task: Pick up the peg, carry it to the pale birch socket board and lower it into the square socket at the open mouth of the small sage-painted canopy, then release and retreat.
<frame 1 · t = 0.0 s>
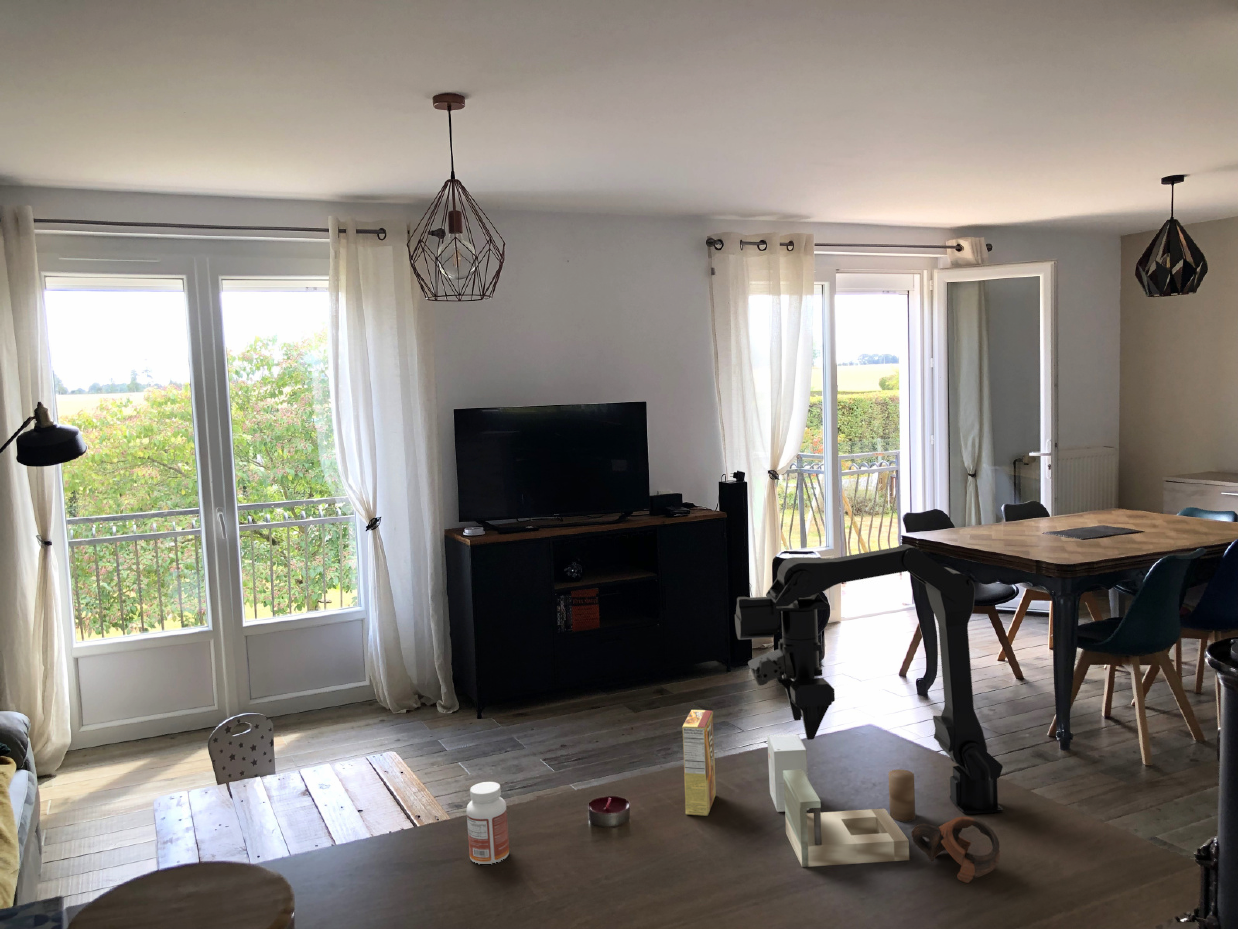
hand: (803, 729, 152), 15 cm above the table, fingers open, 9 cm apart
small box: (789, 803, 159), on the table
peg: (902, 816, 151), on the table
candy box: (701, 806, 159), on the table
pottery mug: (955, 868, 134), on the table
shelter: (845, 846, 142), on the table
pill bottle: (489, 858, 144), on the table
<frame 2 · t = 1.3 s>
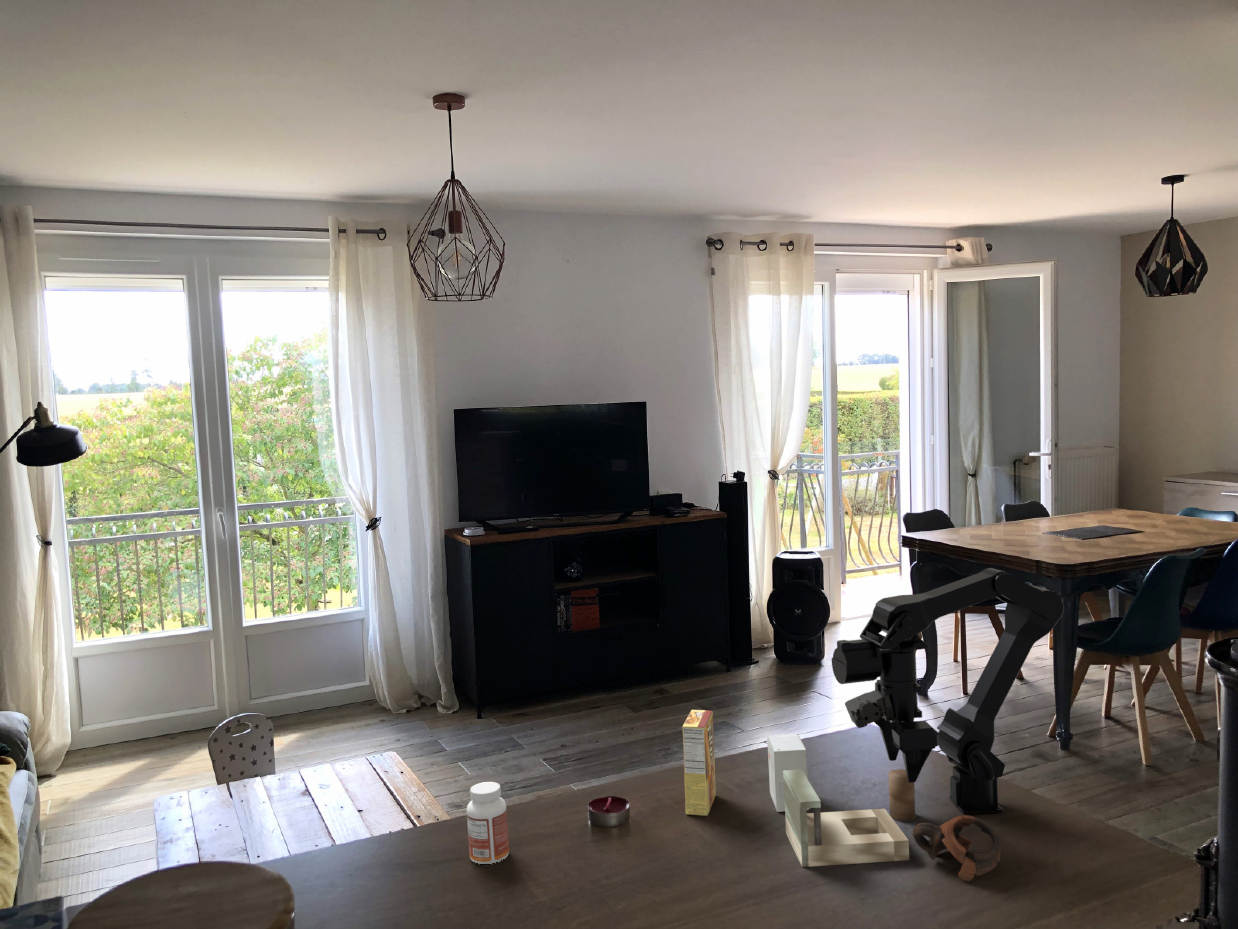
hand: (901, 771, 151), 8 cm above the table, fingers open, 9 cm apart
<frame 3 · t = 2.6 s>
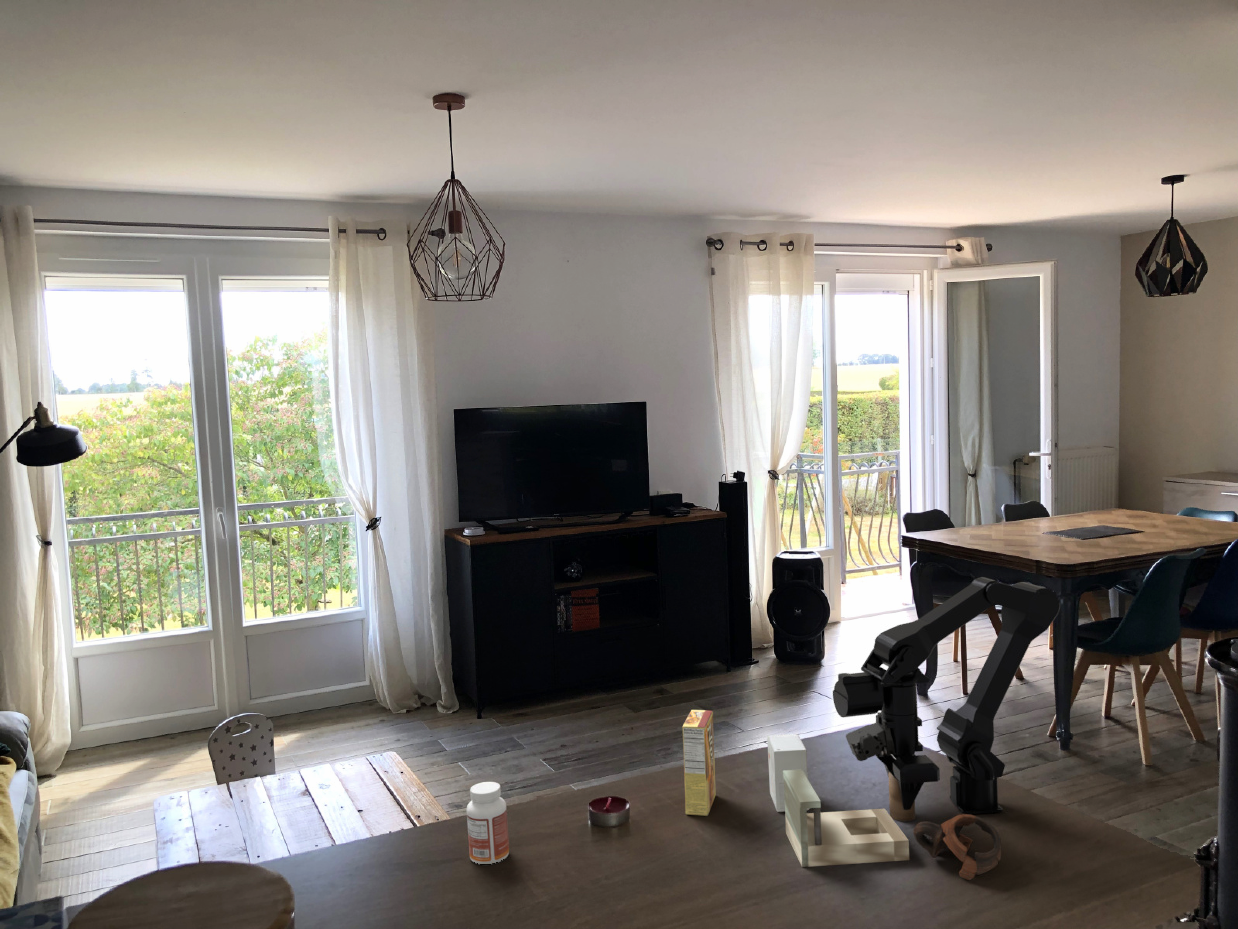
hand: (902, 803, 151), 2 cm above the table, fingers closed on peg, 4 cm apart
peg: (902, 816, 151), on the table, touching gripper
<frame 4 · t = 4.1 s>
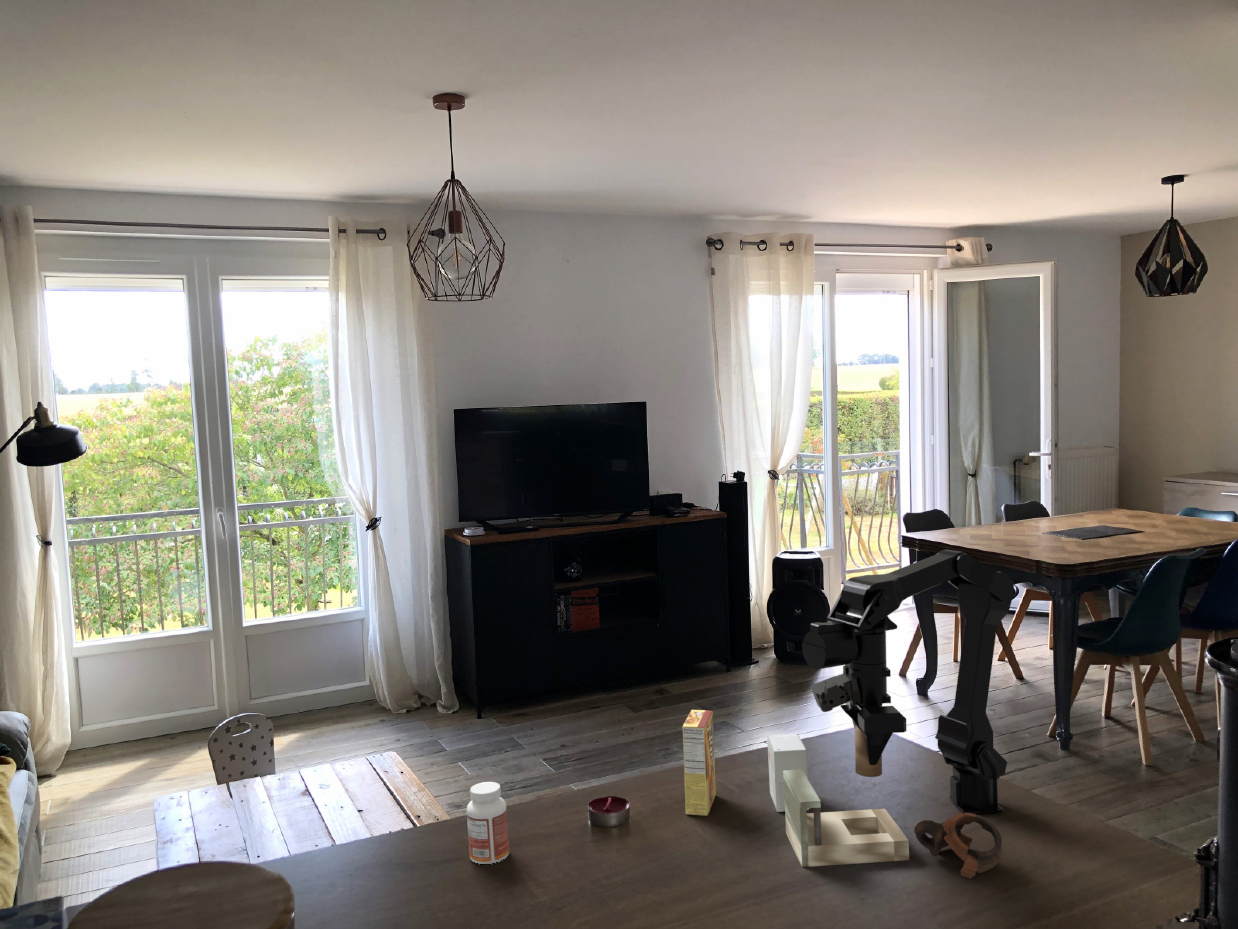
hand: (868, 759, 143), 13 cm above the table, fingers closed on peg, 4 cm apart
peg: (868, 772, 144), point 10 cm above the table, touching gripper
when the fingers open (4 cm above the table, at t = 6.1 s): peg drops 2 cm, resting in shelter.
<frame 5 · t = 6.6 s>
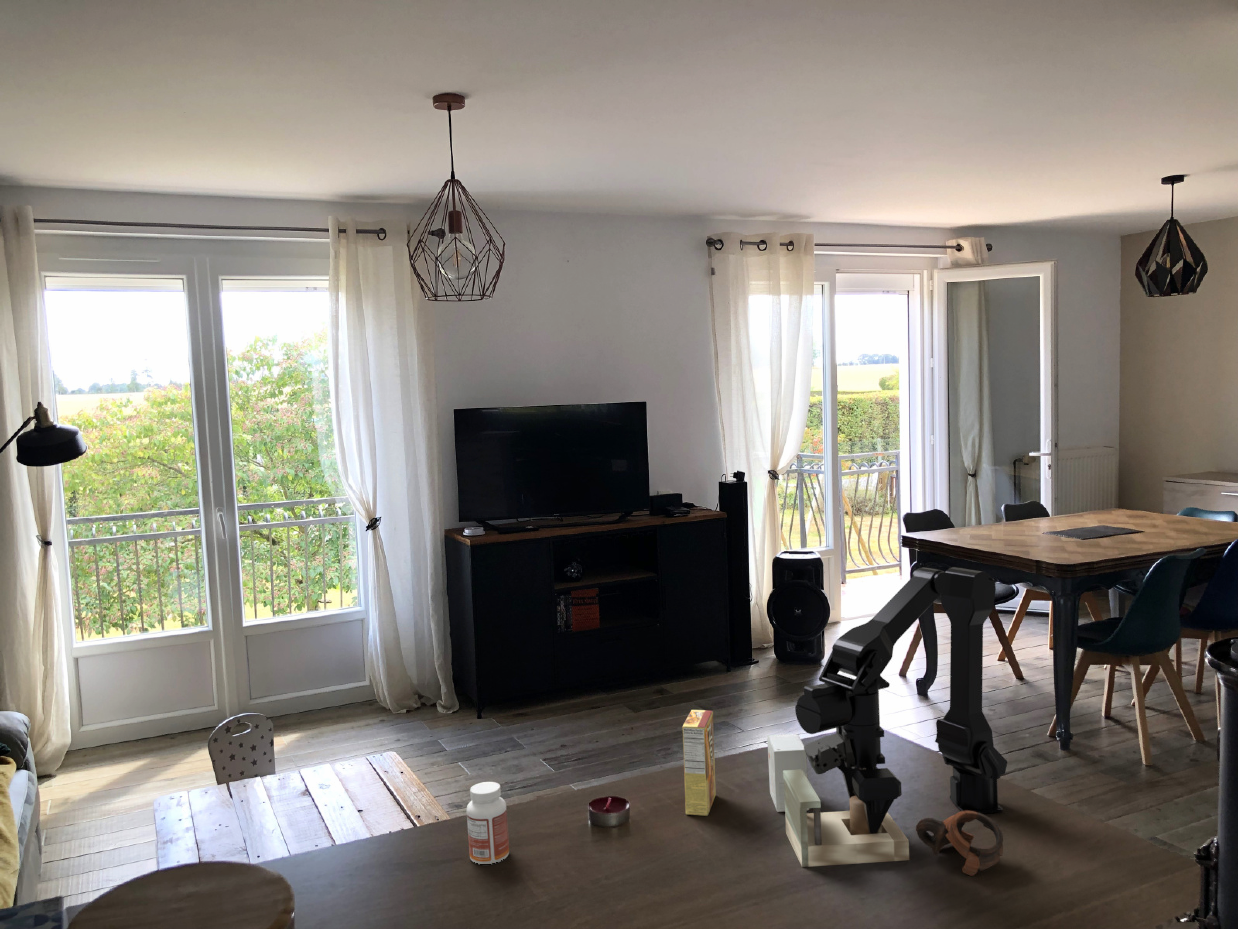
hand: (863, 819, 142), 4 cm above the table, fingers open, 9 cm apart
peg: (864, 845, 142), resting in shelter
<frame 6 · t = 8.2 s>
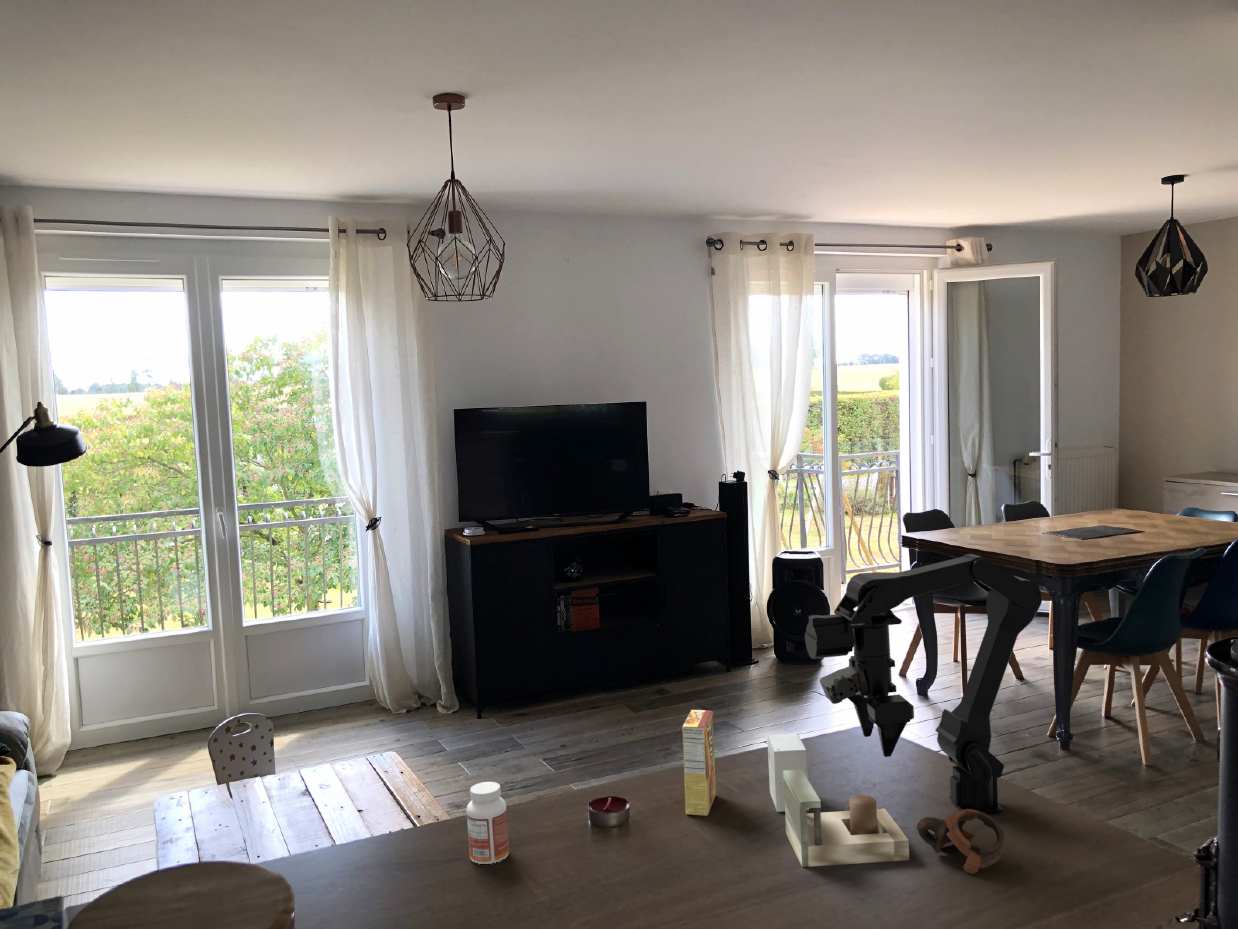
hand: (877, 746, 151), 12 cm above the table, fingers open, 9 cm apart
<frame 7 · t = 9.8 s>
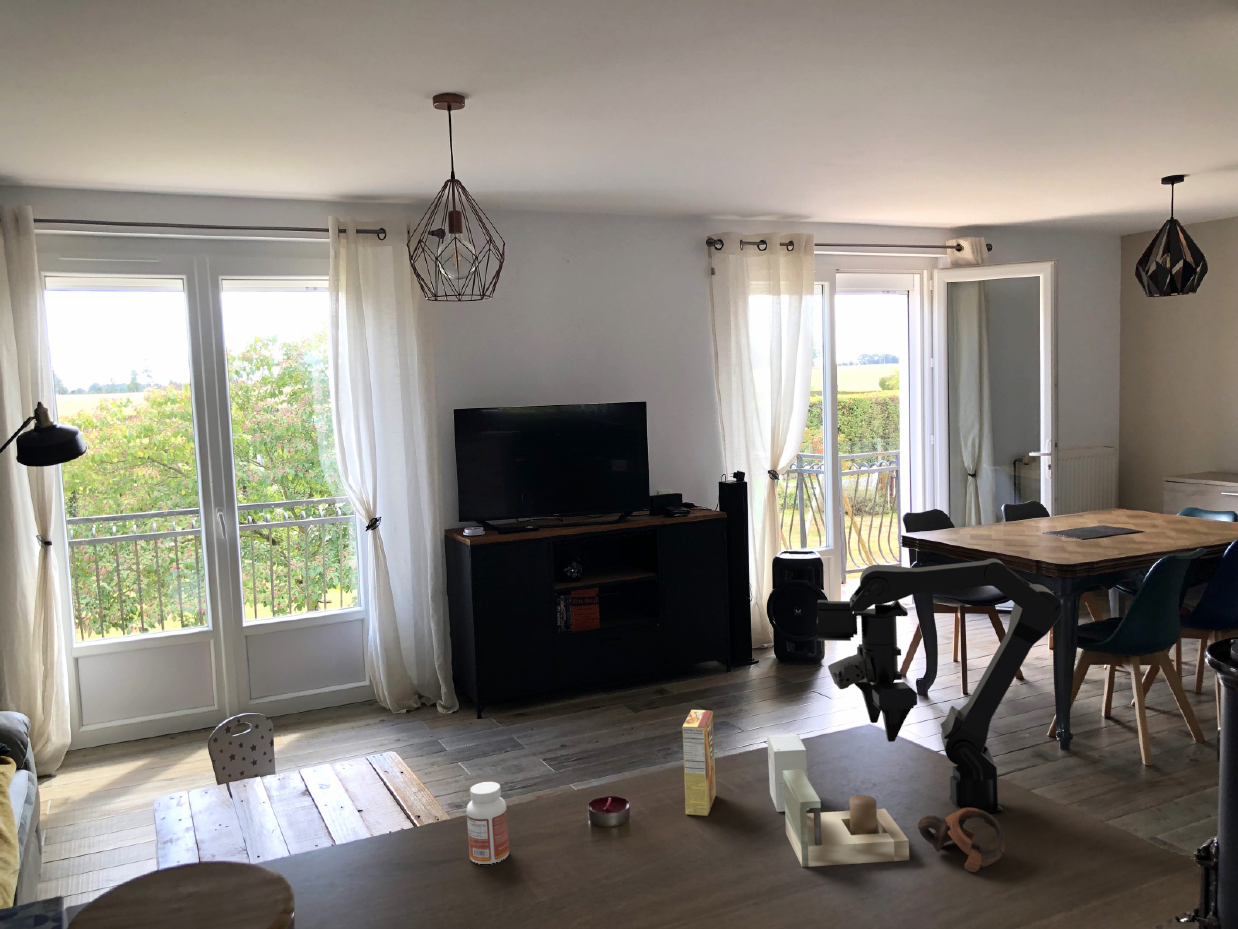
hand: (882, 731, 157), 12 cm above the table, fingers open, 9 cm apart
at the end: peg 0.0 cm from the target spot on the shelter, point 0.0 cm above the shelter's base; peg tilted 0°; the gripper is holding nothing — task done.
